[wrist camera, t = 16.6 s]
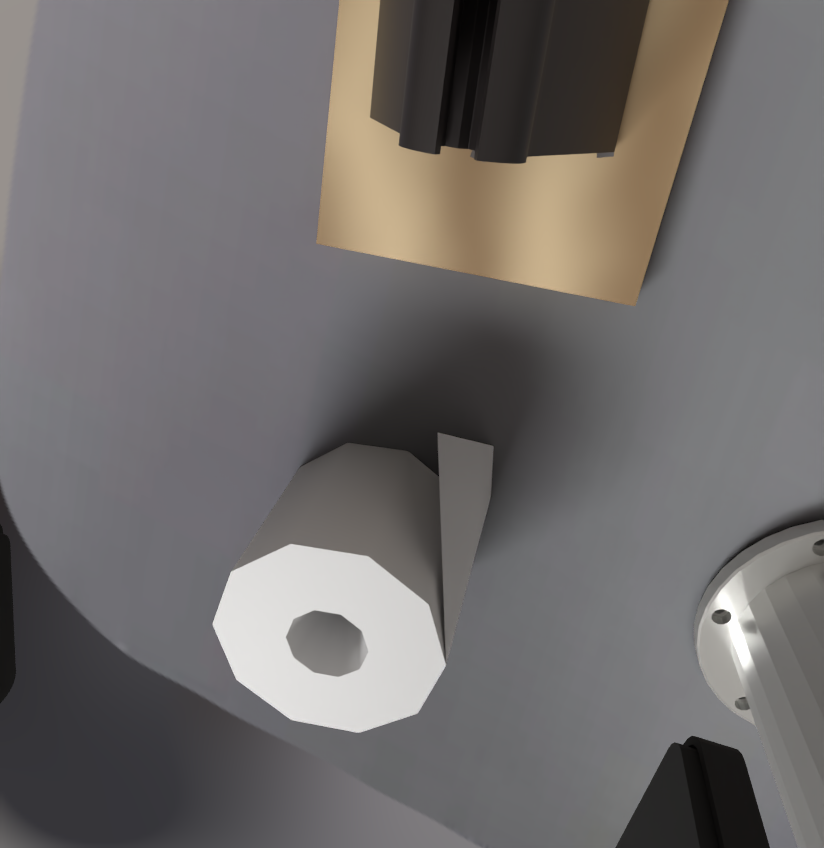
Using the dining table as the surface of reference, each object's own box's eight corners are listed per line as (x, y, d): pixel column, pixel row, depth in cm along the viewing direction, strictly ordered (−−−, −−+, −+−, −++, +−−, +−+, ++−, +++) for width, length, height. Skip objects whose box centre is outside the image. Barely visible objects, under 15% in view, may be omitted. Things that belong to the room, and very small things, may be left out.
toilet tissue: (530, 424, 32) (527, 528, 24) (419, 626, 38) (388, 762, 30) (347, 343, 32) (284, 421, 24) (264, 559, 37) (193, 677, 30)
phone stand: (659, -43, 23) (766, -171, 12) (612, 153, 25) (666, 191, 15) (389, -76, 24) (263, -224, 13) (371, 117, 26) (253, 128, 15)
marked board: (795, -245, 21) (809, -264, 20) (631, 298, 29) (635, 306, 28) (378, -299, 22) (369, -319, 21) (324, 238, 30) (316, 243, 29)
